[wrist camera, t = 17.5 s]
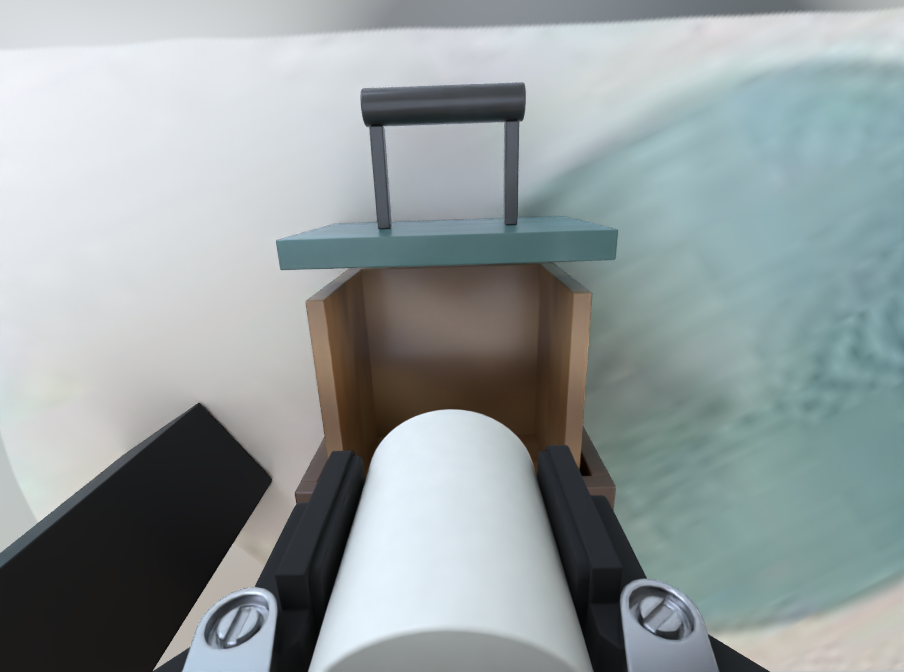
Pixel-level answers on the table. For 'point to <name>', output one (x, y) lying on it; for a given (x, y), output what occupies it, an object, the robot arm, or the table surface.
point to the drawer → (450, 298)
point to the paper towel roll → (451, 560)
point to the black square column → (127, 553)
